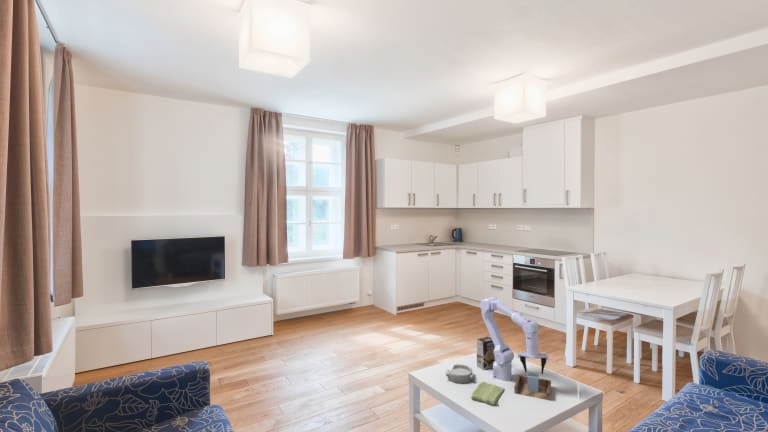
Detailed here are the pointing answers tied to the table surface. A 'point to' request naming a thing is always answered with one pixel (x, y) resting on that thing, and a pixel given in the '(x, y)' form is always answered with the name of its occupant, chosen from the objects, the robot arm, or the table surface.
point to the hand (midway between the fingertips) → (534, 372)
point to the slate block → (533, 382)
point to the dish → (460, 373)
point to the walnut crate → (522, 390)
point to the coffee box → (485, 353)
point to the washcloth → (487, 393)
